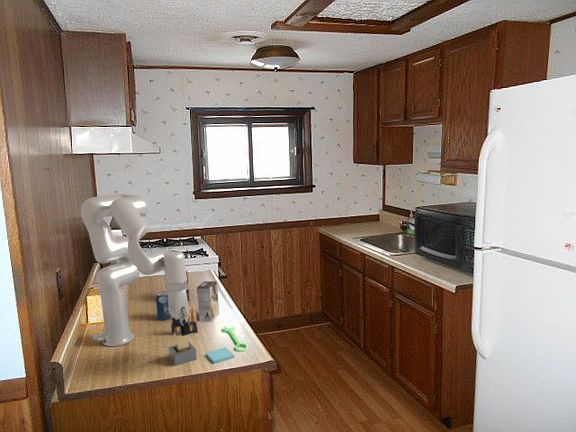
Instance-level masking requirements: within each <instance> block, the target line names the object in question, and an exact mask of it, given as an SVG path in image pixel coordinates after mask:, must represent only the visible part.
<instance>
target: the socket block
mask: <svg viewBox="0 0 576 432" xmlns="http://www.w3.org/2000/svg"><path fill="white" fill-rule="evenodd" d="M188 343H189V350H185V351H182V352H178V353H177V352H176V351H175V344H174V345H171V346H168V347H167V349H168V358H169V359H170V361H171V362H172V363H173V364H174V366H179V365H182V364H186V363H189V362H193V361H196V360H198V358H197V349H196V347H194V345H193V344H192V343H191V342H190V341H188Z"/></svg>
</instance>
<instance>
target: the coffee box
mask: <svg viewBox="0 0 576 432" xmlns="http://www.w3.org/2000/svg"><path fill="white" fill-rule="evenodd" d="M196 293H197V294H196V296H197V303H198V304H197V305H198V314H199V315H198V316H199V321H200V322H213V321H214V320H215V319H216V318H217V317H218V316H219V315H220V308H219V307H220V306H219V305H220V304H219V294H218V293H219V292H218V282H217V280H216V281H212V280H211V281H207V280H206V281H203V282H202V283H200V284H199V285H198V286H197V287H196Z"/></svg>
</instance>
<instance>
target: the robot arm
mask: <svg viewBox="0 0 576 432" xmlns="http://www.w3.org/2000/svg"><path fill="white" fill-rule="evenodd" d="M147 212H148V204H147V202H146V200H145V199H144V198H143V197H141V196H139V195H134V194H126V193H115V194H107V195H99V196H92V197H91V198H90V197H89V198H87V199H86V200H84V202H83V203H82V204H81V208H80V215H81V219H82V222H83V224H84V226H85V228H86V230H87V232H88V235H89V240H90V244H91V248H92V252H93V255H94V257H95V260H96V262H97V263H99V264H108V263H112V262H115V261H116V262H117V261H119V263H118V262H117V263H114V264H111V265H107V266H106V267H105V266H104V267H103V268H101V269H99V270H98V271H97V273H96V275H95V280H96V284H97V287H98V291H99V295H100V299H101V300H100V302H101V307H102V317H103V325H104V330H103V332H101V333H100V334H95V335H92V338H93V339H92V340H93V341H96V340H97V342H100V341H101V343H103V344H102V345H104V346H105V345H106V347H118V346H122V345H125V344H128V343H130V342H132V341H133V340H134V339H135V333H134V332H132V331H131V329H130V320H129V319H130V318H129V311H128V301H127V296H126V294H125V293H124V291H123V290H122V289H121V288H122V287H124V286H127V285H130V284H132V283H134V282H136V281H137V280H139V277H140V274H142V275H145V276H150V275H153V274H156V273H158V272H163V271H164V278H165V288H166V291H167V292H168V305H169V313H170V314H171V316H172V321H173V327H174V328H175V327H179V326H180V328H181V335H182V336H185V335H188V336H189V335H190V325H189V308H188V306H189V301H188V300H187V294H186V290H187V289H189V284H188V285H187V275H186V271H187V268H186V257H185V253H183V252H182V251H178V250H177V251H174V250H171V249H167V248H166V249H165V248H163V249H159V250H156V251H152V252H149V253H145V252H144V250H143V249H142V247H141V245H140V242H139V240H141V239H142V238H143V237H144V236H145V235H146V234H147V232H148V230H149V225H148V224H147V221H145V219H144V218H143V217H144V216H145V215H146V214H147ZM108 217H112V218H113V219H114V221H115V222H116V223H117V224H118V226H119V227H120V229H121V230H122V231H123V232H124V234H125V235H126V236H124V235H117V236H113V235H114V234H113V231H112V228H111V226H110V224H109V223H108V222H107V221H106V220H105V219H104V218H108ZM183 315H184V316H183ZM181 316H182V317H181ZM182 319H183V321H182Z"/></svg>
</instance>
